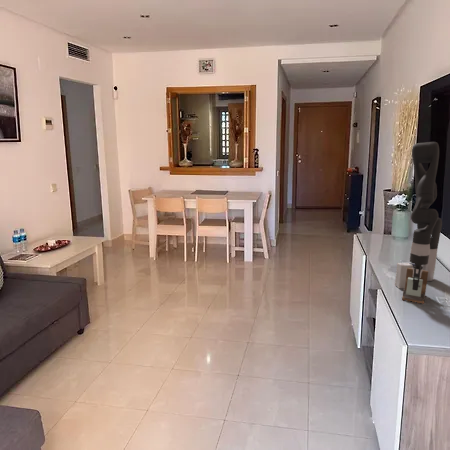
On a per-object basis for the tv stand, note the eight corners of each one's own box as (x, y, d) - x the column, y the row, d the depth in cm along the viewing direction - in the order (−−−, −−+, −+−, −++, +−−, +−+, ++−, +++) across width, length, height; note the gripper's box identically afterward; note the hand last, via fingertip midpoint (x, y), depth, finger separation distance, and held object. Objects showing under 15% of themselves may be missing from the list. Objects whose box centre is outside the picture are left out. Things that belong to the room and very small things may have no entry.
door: (406, 295, 188) (408, 277, 186) (420, 298, 186) (422, 279, 184) (405, 298, 185) (407, 279, 184) (419, 300, 183) (422, 281, 181)
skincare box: (405, 285, 205) (408, 262, 202) (410, 288, 200) (413, 265, 198) (394, 285, 204) (396, 262, 201) (398, 288, 200) (401, 265, 197)
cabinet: (404, 291, 197) (407, 267, 194) (425, 295, 192) (428, 270, 190) (401, 300, 186) (404, 274, 183) (423, 304, 182) (427, 278, 179)
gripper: (411, 247, 189) (407, 280, 193) (409, 255, 177) (405, 290, 181) (429, 249, 186) (425, 283, 190) (428, 258, 174) (424, 293, 177)
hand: (415, 286), depth 185 cm, fingers open, 8 cm apart
